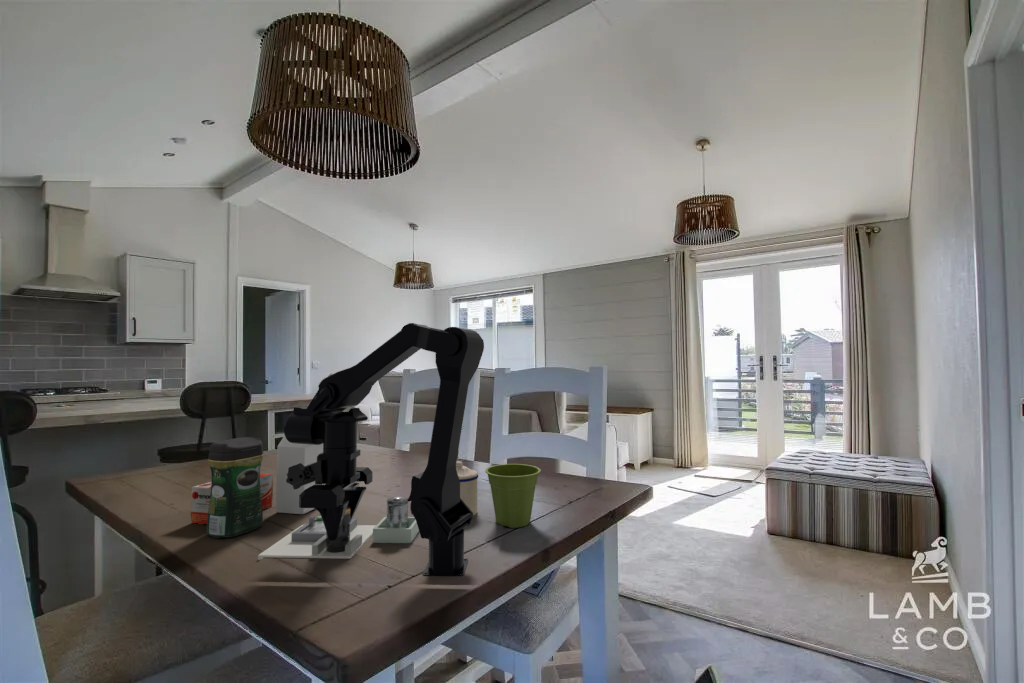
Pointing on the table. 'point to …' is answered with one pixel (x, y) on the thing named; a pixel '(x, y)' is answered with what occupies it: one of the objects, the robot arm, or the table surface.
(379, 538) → the cup
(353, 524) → the white square base board
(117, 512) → the table surface
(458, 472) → the teacup with lid
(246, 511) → the coffee jar
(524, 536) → the table surface
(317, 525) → the cradle
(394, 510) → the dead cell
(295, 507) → the milk carton
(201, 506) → the medicine box
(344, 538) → the cell
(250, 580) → the table surface
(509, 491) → the plant pot
